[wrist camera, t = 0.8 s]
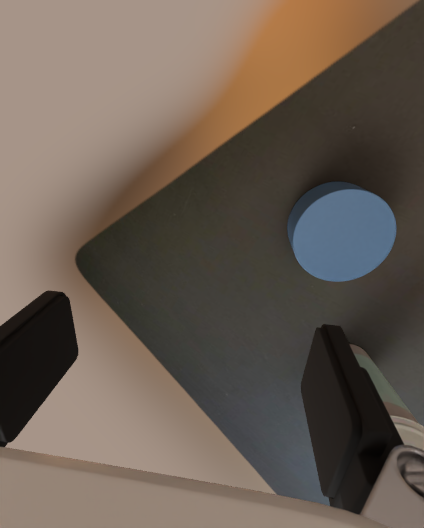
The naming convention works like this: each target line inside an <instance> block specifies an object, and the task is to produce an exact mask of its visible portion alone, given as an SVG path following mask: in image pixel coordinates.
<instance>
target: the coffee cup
mask: <svg viewBox="0 0 424 528" xmlns="http://www.w3.org/2000/svg"><path fill="white" fill-rule="evenodd" d="M350 347H351V349H352V351H353V353H354V355H355V357H356V359H357V361H358V363H359V365H360V367H363V368H365V369H366V370H367V372H368V373H369V375H370V377H371V379H372V381H373V383H374V385H375V387H376V389H377V391H378V393H379V395H380V397H381V399H382V401H383V403H384V405H385V407H386V409H387V411H388V413H389V415H390V417H391V419H392V421H393V423H394V425H395V427H396V429H397V431H398V433H399V435H400V437H401V439H402V441H403V443H404V445H411V446H414V447H417V448H420V449H422V450H424V427H423V426H421V425H420V424H419V423H418V422H417V421H416V419H415V418H414V417H413V415H412V414H411V412H410V411H409V410H408V408H407V407H406V406H405V404H404V403H403V402H402V400H401V399H400V398H399V396H398V395H397V393H396V392H395V391H394V389H393V388H392V387H391V385H390V384H389V383H388V381H387V380H386V378H385V377H384V376H383V374H382V373H381V372H380V370H379V369H378V368H377V366H376V365H375V364H374V362H373V361H372V360H371V358H370V357H369V355H368V354H367V353H366V352H365V351H364V350H363V349H362V348H360V347H359V346H356V345H353V344H350Z"/></svg>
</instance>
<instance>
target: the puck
mask: <svg viewBox="0 0 424 528" xmlns="http://www.w3.org/2000/svg"><path fill="white" fill-rule="evenodd" d="M287 231H288V237H289V241H290V243H291V246H292V249H293V251H294V254H295V256H296V259H297V260H298V262H299V264H300V265H301V266H302V267H303V268H304V269H305V270H306V271H307V272H308V273H310V274H311V275H313V276H315V277H317V278H320V279H323V280H327V281H348V280H352V279H356V278H359V277H361V276H363V275H365V274H367V273H369V272H371V271H372V270H373V269H375V268H376V267H377V266H378V265H379V264H381V263H382V262H383V260H384V259H385V258H386V257H387V255H388V254H389V252H390V250H391V248H392V246H393V244H394V241H395V236H396V221H395V217H394V214H393V212H392V210H391V208H390V207H389V205H388V204H387V203H386V202H385V201H384V200H383V199H382V198H380V197H379V196H377V195H376V194H374V193H372V192H370V191H367V190H365V189H363V188H361V187H359V186H357V185H354V184H352V183H348V182H339V181H338V182H329V183H325V184H321V185H319V186H317V187H314V188H313V189H311V190H309V191H308V192H307V193H305V194H304V195H303V196H302V197H301V198H300V199H299V200H298V201H297V203H296V204H295V205H294V207H293V209H292V211H291V213H290V216H289V219H288V225H287Z"/></svg>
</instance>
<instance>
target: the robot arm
mask: <svg viewBox="0 0 424 528" xmlns="http://www.w3.org/2000/svg"><path fill="white" fill-rule="evenodd" d="M77 356H78V345H77V340H76V334H75V328H74V323H73V317H72V311H71V306H70V300H69V298H68V297H66V295H65V294H64V293H63V292H57V291H46V292H44V293H43V294H42V295H40V296H39V297H38V298H36V299H35V300H34V301H32V302H31V303H30V304H29V305H28V306H26V307H25V308H23V309H22V310H21V311H19V312H18V313H17V314H15V315H14V316H13V317H12V318H10V319H9V320H8V321H6V322H5V323H4V324H2V325H1V326H0V528H424V450H422V449H420V448H417V447H414V446H411V445H404V443H403V441H402V439H401V437H400V435H399V433H398V431H397V429H396V427H395V425H394V423H393V421H392V419H391V417H390V415H389V413H388V411H387V409H386V407H385V405H384V403H383V401H382V399H381V397H380V395H379V393H378V391H377V389H376V387H375V385H374V383H373V381H372V379H371V377H370V375H369V373H368V372H367V370H366V369H365V368H363V367H360V365H359V363H358V361H357V359H356V357H355V355H354V353H353V351H352V349H351V347H350V344H349V342H348V340H347V338H346V336H345V334H344V332H343V330H342V328H341V327H340V326H334V325H326V324H323V325H322V327H321V328H316V331H315V334H314V338H313V342H312V345H311V349H310V353H309V356H308V360H307V364H306V367H305V371H304V375H303V378H302V382H301V393H302V398H303V403H304V408H305V412H306V417H307V422H308V427H309V432H310V437H311V442H312V447H313V452H314V456H315V461H316V466H317V471H318V476H319V481H320V486H321V490H322V493H323V495H324V496H326V497H329V502H330V506H327V505H323V504H319V503H315V502H310V501H305V500H300V499H295V498H290V497H285V496H280V495H275V494H269V493H264V492H260V491H254V490H248V489H243V488H238V487H232V486H226V485H221V484H215V483H209V482H203V481H198V480H193V479H187V478H181V477H176V476H169V475H164V474H158V473H153V472H147V471H141V470H135V469H130V468H124V467H118V466H112V465H106V464H101V463H95V462H88V461H83V460H77V459H71V458H65V457H59V456H53V455H47V454H41V453H35V452H29V451H23V450H17V449H10V448H5V446H6V445H7V443H8V442H12V441H13V440H14V439H15V438H16V437H17V436H18V434H19V433H20V432H21V431H22V429H23V428H24V427H25V425H26V424H27V423H28V421H29V420H30V419H31V418H32V416H33V415H34V413H35V412H36V411H37V410H38V408H39V407H40V406H41V405H42V403H43V402H44V401H45V399H46V398H47V397H48V395H49V394H50V393H51V391H52V390H53V389H54V388H55V386H56V385H57V384H58V382H59V381H60V380H61V379H62V377H63V376H64V375H65V373H66V372H67V370H68V369H69V368H70V367H71V366H72V364H73V363H74V362H75V360H76V359H77Z"/></svg>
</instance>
